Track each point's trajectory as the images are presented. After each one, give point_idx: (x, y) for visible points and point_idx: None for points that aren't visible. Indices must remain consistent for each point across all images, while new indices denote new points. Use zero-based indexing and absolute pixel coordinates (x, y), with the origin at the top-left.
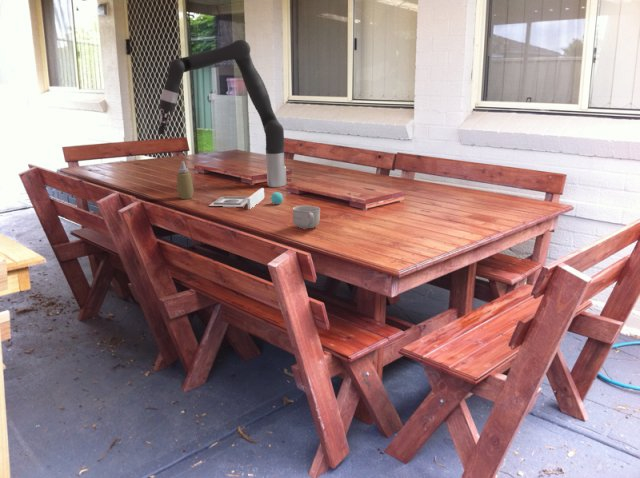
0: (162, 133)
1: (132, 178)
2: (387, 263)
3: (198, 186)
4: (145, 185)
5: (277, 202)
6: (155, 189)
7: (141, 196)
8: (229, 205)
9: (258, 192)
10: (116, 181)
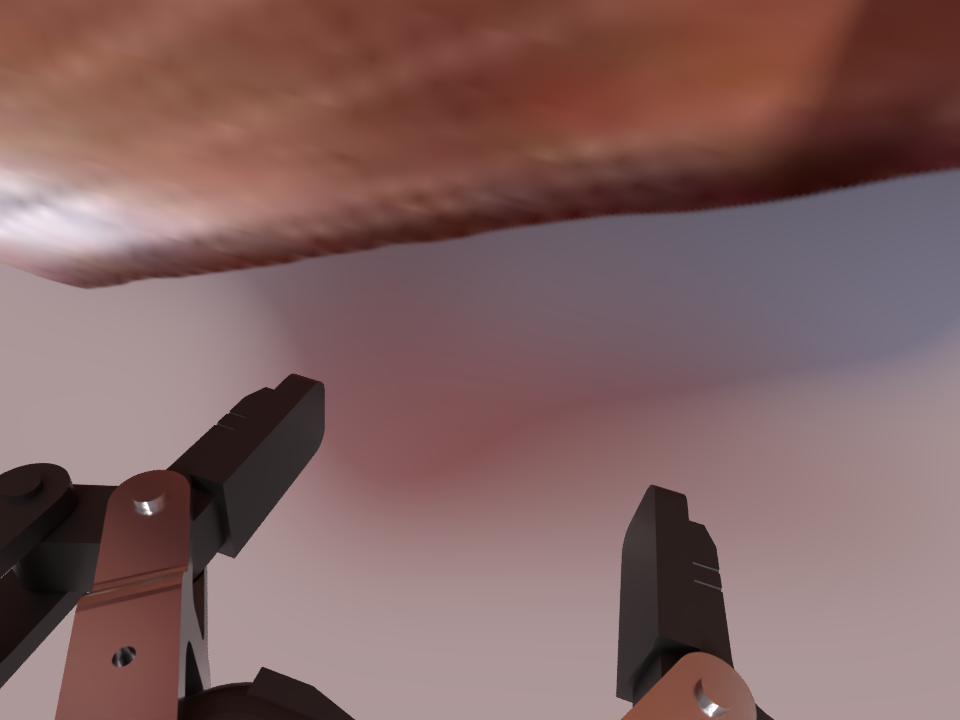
0: (681, 514)
1: (83, 107)
2: None
3: None
4: (290, 88)
5: None
6: (444, 56)
7: (624, 196)
8: None
9: None
10: (170, 196)
